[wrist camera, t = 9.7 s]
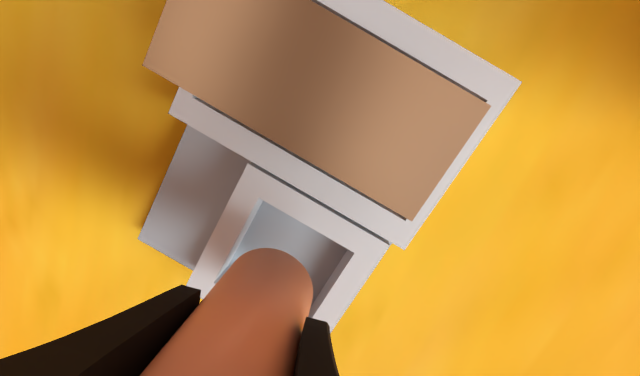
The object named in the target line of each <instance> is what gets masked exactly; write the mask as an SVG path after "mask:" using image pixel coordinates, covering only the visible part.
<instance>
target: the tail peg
mask: <svg viewBox="0 0 640 376" xmlns="http://www.w3.org/2000/svg"><path fill="white" fill-rule="evenodd" d="M312 299H313V285H312V281H311V278H310V276H309V274H308V272H307V270H306V269H305V267H304V266H303V265H302V264H301V263H300V262H299V261H298V260H297V259H296V258H294V257H293V256H292V255H290V254H288V253H286V252H284V251H281V250H278V249H273V248H258V249H253V250H251V251H248V252H246V253H244V254H243V255H241V256H240V257H239V258H238V259H237V260H236V261H235V262H234V263H233V264H232V265H231V266H230V268H229V269H228V270H227V271H226V272H225V274H224V275H223V276H222V277H221V278H220V280H219V281H218V282H217V283H216V284H215V286H214V287H213V288H212V289H211V290H210V292H209V293H208V294H207V295H206V296H205V298H204V299H203V300H202V301H201V302H200V304H199V305H198V306H197V307H196V308H195V310H194V311H193V312H192V313H191V314H190V316H189V317H188V318H187V319H186V320H185V322H184V323H183V324H182V325H181V326H180V328H179V329H178V330H177V331H176V332H175V334H174V335H173V336H172V337H171V338H170V340H169V341H168V342H167V343H166V344H165V346H164V347H163V348H162V349H161V350H160V352H159V353H158V354H157V355H156V356H155V358H154V359H153V360H152V361H151V362H150V364H149V365H148V366H147V367H146V368H145V370H144V371H143V372H142V373H141V374H140V376H293V374H294V368H295V362H296V357H297V352H298V348H299V343H300V339H301V334H302V330H303V326H304V323H305V319H306V317H308V316H309V312H310V308H311V303H312Z"/></svg>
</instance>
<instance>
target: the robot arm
mask: <svg viewBox="0 0 640 376" xmlns="http://www.w3.org/2000/svg"><path fill="white" fill-rule="evenodd" d="M200 295H201V290H200V289H196V288H192V287H188V286H184V285H180V286H178V287H175V288H173V289H171V290H168V291H166V292H164V293H162V294H160V295H158V296H156V297H153V298H151V299H149V300H147V301H145V302H143V303H141V304H138V305H136V306H134V307H132V308H130V309H127V310H125V311H123V312H121V313H119V314H117V315H114V316H112V317H110V318H108V319H105V320H103V321H100V322H98V323H96V324H93V325H91V326H88V327H86V328H83V329H81V330H79V331H76V332H74V333H71V334H69V335H67V336H64V337H62V338H59V339H56V340H54V341H51V342H48V343H46V344H43V345H40V346H37V347H35V348H32V349H29V350H26V351H23V352H20V353H17V354H14V355H11V356H8V357H5V358H2V359H0V376H140V374H141V373H142V372H143V371H144V370H145V368H146V367H147V366H148V365H149V364H150V362H151V361H152V360H153V359H154V358H155V356H156V355H157V354H158V353H159V352H160V350H161V349H162V348H163V347H164V346H165V344H166V343H167V342H168V341H169V340H170V338H171V337H172V336H173V335H174V334H175V332H176V331H177V330H178V329H179V328H180V326H181V325H182V324H183V323H184V322H185V320H186V319H187V318H188V317H189V316H190V314H191V313H192V312H193V311H194V310H195V308H196V307H197V306H198V305H199V302H200ZM293 376H339V373H338V370H337V366H336V362H335V358H334V353H333V348H332V343H331V337H330V326H329V325H328V323H327V322H325V321H321V320H317V319H314V318H310V317H306V319H305V323H304V326H303V330H302V334H301V339H300V343H299V348H298V352H297V357H296V362H295V368H294V374H293Z"/></svg>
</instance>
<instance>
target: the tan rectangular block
mask: <svg viewBox="0 0 640 376" xmlns="http://www.w3.org/2000/svg"><path fill="white" fill-rule="evenodd" d="M143 66H144V67H146V68H148V69H149V70H151V71H153V72H155V73H156V74H158V75H160V76H162V77H163V78H165V79H167V80H168V81H170V82H172V83H174V84H175V85H177V86H179V87H181V88H182V89H184V90H186V91H187V92H189V93H191V94H193V95H194V96H196V97H198V98H200V99H201V100H203V101H205V102H206V103H208V104H210V105H212V106H213V107H215V108H217V109H219V110H220V111H222V112H224V113H225V114H227V115H229V116H231V117H232V118H234V119H236V120H238V121H239V122H241V123H243V124H244V125H246V126H248V127H250V128H251V129H253V130H255V131H257V132H258V133H260V134H262V135H263V136H265V137H267V138H269V139H270V140H272V141H274V142H275V143H277V144H279V145H281V146H282V147H284V148H286V149H288V150H289V151H291V152H293V153H294V154H296V155H298V156H300V157H301V158H303V159H305V160H307V161H308V162H310V163H312V164H313V165H315V166H317V167H319V168H320V169H322V170H324V171H326V172H327V173H329V174H331V175H332V176H334V177H336V178H338V179H339V180H341V181H343V182H345V183H346V184H348V185H350V186H351V187H353V188H355V189H357V190H358V191H360V192H362V193H364V194H365V195H367V196H369V197H370V198H372V199H374V200H376V201H377V202H379V203H381V204H383V205H384V206H386V207H388V208H389V209H391V210H393V211H395V212H396V213H398V214H400V215H402V216H403V217H405V218H407V219H408V220H410V221H413V219H414V218H415V216H416V215H417V213H418V212H419V211H420V209H421V208H422V206H423V205H424V203H425V202H426V200H427V199H428V197H429V196H430V195H431V193H432V192H433V190H434V189H435V187H436V186H437V184H438V183H439V181H440V180H441V179H442V177H443V176H444V174H445V173H446V171H447V170H448V168H449V167H450V165H451V164H452V163H453V161H454V160H455V158H456V157H457V155H458V154H459V152H460V151H461V149H462V148H463V147H464V145H465V144H466V142H467V141H468V139H469V138H470V136H471V135H472V133H473V132H474V131H475V129H476V128H477V126H478V125H479V123H480V122H481V120H482V119H483V117H484V116H485V115H486V113H487V112H488V110H489V109H490V107H491V105H489V104H487V103H486V102H484V101H482V100H480V99H479V98H477V97H475V96H474V95H472V94H470V93H469V92H467V91H465V90H463V89H462V88H460V87H458V86H457V85H455V84H453V83H451V82H450V81H448V80H446V79H445V78H443V77H441V76H439V75H438V74H436V73H434V72H433V71H431V70H429V69H428V68H426V67H424V66H422V65H421V64H419V63H417V62H416V61H414V60H412V59H410V58H409V57H407V56H405V55H404V54H402V53H400V52H398V51H397V50H395V49H393V48H392V47H390V46H388V45H387V44H385V43H383V42H381V41H380V40H378V39H376V38H375V37H373V36H371V35H369V34H368V33H366V32H364V31H363V30H361V29H359V28H357V27H356V26H354V25H352V24H351V23H349V22H347V21H346V20H344V19H342V18H340V17H339V16H337V15H335V14H334V13H332V12H330V11H328V10H327V9H325V8H323V7H322V6H320V5H318V4H317V3H315V2H313V1H311V0H167V1H166V4H165V6H164V9H163V12H162V14H161V17H160V20H159V22H158V25H157V28H156V30H155V33H154V36H153V38H152V41H151V44H150V46H149V49H148V52H147V54H146V57H145V60H144V62H143Z"/></svg>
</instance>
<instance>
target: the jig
mask: <svg viewBox="0 0 640 376" xmlns="http://www.w3.org/2000/svg"><path fill="white" fill-rule="evenodd" d="M311 1H313V2H315V3H317V4H318V5H320V6H322V7H323V8H325V9H327V10H328V11H330V12H332V13H334V14H335V15H337V16H339V17H340V18H342V19H344V20H346V21H347V22H349V23H351V24H352V25H354V26H356V27H357V28H359V29H361V30H363V31H364V32H366V33H368V34H369V35H371V36H373V37H375V38H376V39H378V40H380V41H381V42H383V43H385V44H387V45H388V46H390V47H392V48H393V49H395V50H397V51H398V52H400V53H402V54H404V55H405V56H407V57H409V58H410V59H412V60H414V61H416V62H417V63H419V64H421V65H422V66H424V67H426V68H428V69H429V70H431V71H433V72H434V73H436V74H438V75H439V76H441V77H443V78H445V79H446V80H448V81H450V82H451V83H453V84H455V85H457V86H458V87H460V88H462V89H463V90H465V91H467V92H469V93H470V94H472V95H474V96H475V97H477V98H479V99H480V100H482V101H484V102H486V103H487V104H489V105H491V107H490V109H489V110H488V112H487V113H486V115H485V116H484V117H483V119H482V120H481V122H480V123H479V125H478V126H477V128H476V129H475V131H474V132H473V133H472V135H471V136H470V138H469V139H468V141H467V142H466V144H465V145H464V147H463V148H462V149H461V151H460V152H459V154H458V155H457V157H456V158H455V160H454V161H453V163H452V164H451V165H450V167H449V168H448V170H447V171H446V173H445V174H444V176H443V177H442V179H441V180H440V181H439V183H438V184H437V186H436V187H435V189H434V190H433V192H432V193H431V195H430V196H429V197H428V199H427V200H426V202H425V203H424V205H423V206H422V208H421V209H420V211H419V212H418V213H417V215H416V216H415V218H414V219H413V221H410V220H408V219H407V218H405V217H403V216H402V215H400V214H398V213H396V212H395V211H393V210H391V209H389V208H388V207H386V206H384V205H383V204H381V203H379V202H377V201H376V200H374V199H372V198H370V197H369V196H367V195H365V194H364V193H362V192H360V191H358V190H357V189H355V188H353V187H351V186H350V185H348V184H346V183H345V182H343V181H341V180H339V179H338V178H336V177H334V176H332V175H331V174H329V173H327V172H326V171H324V170H322V169H320V168H319V167H317V166H315V165H313V164H312V163H310V162H308V161H307V160H305V159H303V158H301V157H300V156H298V155H296V154H294V153H293V152H291V151H289V150H288V149H286V148H284V147H282V146H281V145H279V144H277V143H275V142H274V141H272V140H270V139H269V138H267V137H265V136H263V135H262V134H260V133H258V132H257V131H255V130H253V129H251V128H250V127H248V126H246V125H244V124H243V123H241V122H239V121H238V120H236V119H234V118H232V117H231V116H229V115H227V114H225V113H224V112H222V111H220V110H219V109H217V108H215V107H213V106H212V105H210V104H208V103H206V102H205V101H203V100H201V99H200V98H198V97H196V96H194V95H193V94H191V93H189V92H187V91H186V90H184V89H182V88H181V87H179V88H178V91H177V93H176V96H175V98H174V100H173V103H172V105H171V108H170V110H169V112H168V114H170V115H172V116H173V117H175V118H177V119H179V120H180V121H182V122H184V123H186V124H187V127H186V129H185V131H184V133H183V136H182V138H181V140H180V143H179V145H178V147H177V150H176V152H175V154H174V156H173V159H172V161H171V163H170V166H169V168H168V170H167V173H166V175H165V177H164V179H163V182H162V184H161V186H160V189H159V191H158V193H157V196H156V198H155V200H154V202H153V205H152V207H151V209H150V212H149V214H148V216H147V219H146V221H145V223H144V225H143V228H142V230H141V232H140V235H139V237H138V239H139V240H140V241H142V242H144V243H146V244H147V245H149V246H151V247H153V248H154V249H156V250H158V251H160V252H161V253H163V254H165V255H167V256H168V257H170V258H172V259H174V260H175V261H177V262H179V263H181V264H182V265H184V266H186V267H188V268H189V269H191V270H193V273H192V275H191V277H190V279H189V281H188V283H187V285H186V286H188V287H192V288H196V289H200V290H201V295H200V298H201V299H204V298H205V296H206V295H207V294H208V293H209V292H210V290H211V289H212V288H213V287H214V286H215V284H216V283H217V282H218V281H219V280H220V278H221V277H222V276H223V275H224V274H225V272H226V271H227V270H228V269H229V268H230V266H231V265H232V264H233V263H234V262H235V261H236V260H237V259H238V258H239V257H240V256H241V255H243V254H244V253H246V252H248V251H251V250H253V249H258V248H273V249H278V250H281V251H284V252H286V253H288V254H290V255H292V256H293V257H294V258H296V259H297V260H298V261H299V262H300V263H301V264H302V265H303V266H304V267H305V269H306V270H307V272H308V274H309V276H310V278H311V281H312V285H313V299H312V303H311V308H310V312H309V316H308V317H310V318H314V319H317V320H321V321H325V322H327V323H328V325H329V326H330V333H331V332H332V330H333V329H334V327H335V326H336V324H337V323H338V321H339V320H340V318H341V317H342V316H343V314H344V313H345V311H346V310H347V308H348V307H349V305H350V304H351V302H352V301H353V299H354V298H355V296H356V295H357V294H358V292H359V291H360V289H361V288H362V286H363V285H364V283H365V282H366V280H367V279H368V277H369V276H370V274H371V273H372V272H373V270H374V269H375V267H376V266H377V264H378V263H379V261H380V260H381V258H382V257H383V255H384V254H385V253H386V251H387V250H388V248H389V247H390V245H391V244H392V243H393V244H395V245H397V246H398V247H400V248H402V249H404V250H405V249H406V247H407V246H408V244H409V243H410V242H411V240H412V239H413V237H414V236H415V234H416V233H417V231H418V230H419V229H420V227H421V226H422V224H423V223H424V221H425V220H426V219H427V217H428V216H429V214H430V213H431V211H432V210H433V209H434V207H435V206H436V204H437V203H438V201H439V200H440V199H441V197H442V196H443V194H444V193H445V191H446V190H447V189H448V187H449V186H450V184H451V183H452V181H453V180H454V179H455V177H456V176H457V174H458V173H459V171H460V170H461V169H462V167H463V166H464V164H465V163H466V161H467V160H468V159H469V157H470V156H471V154H472V153H473V151H474V150H475V149H476V147H477V146H478V144H479V143H480V141H481V140H482V139H483V137H484V136H485V134H486V133H487V131H488V130H489V129H490V127H491V126H492V124H493V123H494V121H495V120H496V119H497V117H498V116H499V114H500V113H501V111H502V110H503V109H504V107H505V106H506V104H507V103H508V101H509V100H510V99H511V97H512V96H513V94H514V93H515V91H516V90H517V89H518V87H519V86H520V84H521V83H522V82H521V81H520V80H518V79H516V78H514V77H513V76H511V75H509V74H508V73H506V72H504V71H503V70H501V69H499V68H497V67H496V66H494V65H492V64H491V63H489V62H487V61H486V60H484V59H482V58H480V57H479V56H477V55H475V54H474V53H472V52H470V51H468V50H467V49H465V48H463V47H462V46H460V45H458V44H457V43H455V42H453V41H451V40H450V39H448V38H446V37H445V36H443V35H441V34H440V33H438V32H436V31H434V30H433V29H431V28H429V27H428V26H426V25H424V24H423V23H421V22H419V21H417V20H416V19H414V18H412V17H411V16H409V15H407V14H405V13H404V12H402V11H400V10H399V9H397V8H395V7H394V6H392V5H390V4H388V3H387V2H385V1H383V0H311Z"/></svg>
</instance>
